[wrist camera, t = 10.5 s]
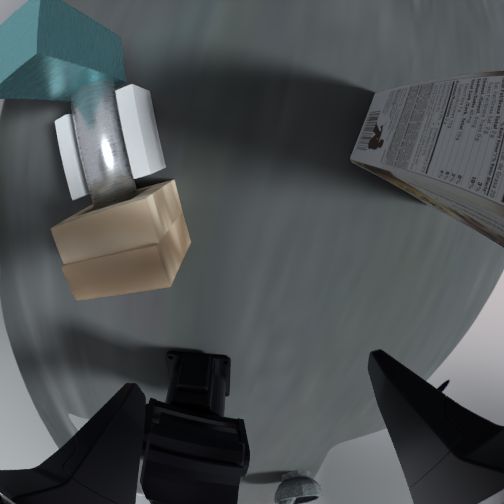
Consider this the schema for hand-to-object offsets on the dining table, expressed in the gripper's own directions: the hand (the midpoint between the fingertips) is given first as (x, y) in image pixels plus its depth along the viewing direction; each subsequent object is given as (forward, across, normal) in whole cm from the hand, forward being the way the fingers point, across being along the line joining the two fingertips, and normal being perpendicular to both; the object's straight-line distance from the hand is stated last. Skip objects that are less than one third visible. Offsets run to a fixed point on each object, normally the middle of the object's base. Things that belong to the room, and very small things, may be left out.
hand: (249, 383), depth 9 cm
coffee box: (+13, -14, -6) cm, 20 cm away
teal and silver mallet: (+12, +8, -11) cm, 18 cm away
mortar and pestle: (+13, +1, +53) cm, 54 cm away
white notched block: (+13, +8, -10) cm, 18 cm away
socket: (+13, +8, -4) cm, 16 cm away
